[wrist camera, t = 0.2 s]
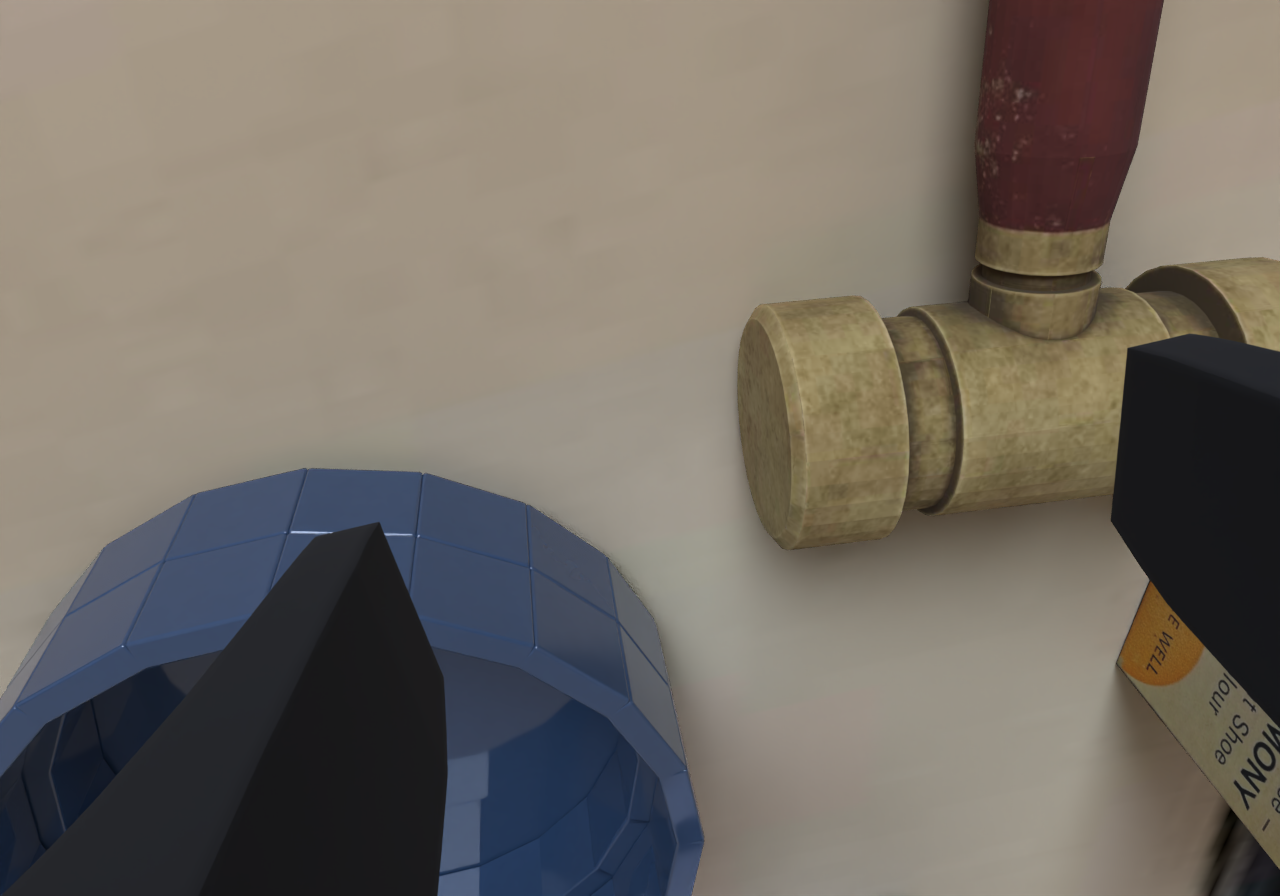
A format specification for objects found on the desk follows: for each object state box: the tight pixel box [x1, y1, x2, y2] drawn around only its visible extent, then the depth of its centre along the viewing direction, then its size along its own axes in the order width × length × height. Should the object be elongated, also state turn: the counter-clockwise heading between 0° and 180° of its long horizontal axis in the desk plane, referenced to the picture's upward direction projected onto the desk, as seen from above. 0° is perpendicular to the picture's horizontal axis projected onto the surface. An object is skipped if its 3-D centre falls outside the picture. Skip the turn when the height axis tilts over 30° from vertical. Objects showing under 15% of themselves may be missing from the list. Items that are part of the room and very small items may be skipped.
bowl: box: [0, 468, 704, 896], centre depth 21 cm, size 14×14×5 cm
